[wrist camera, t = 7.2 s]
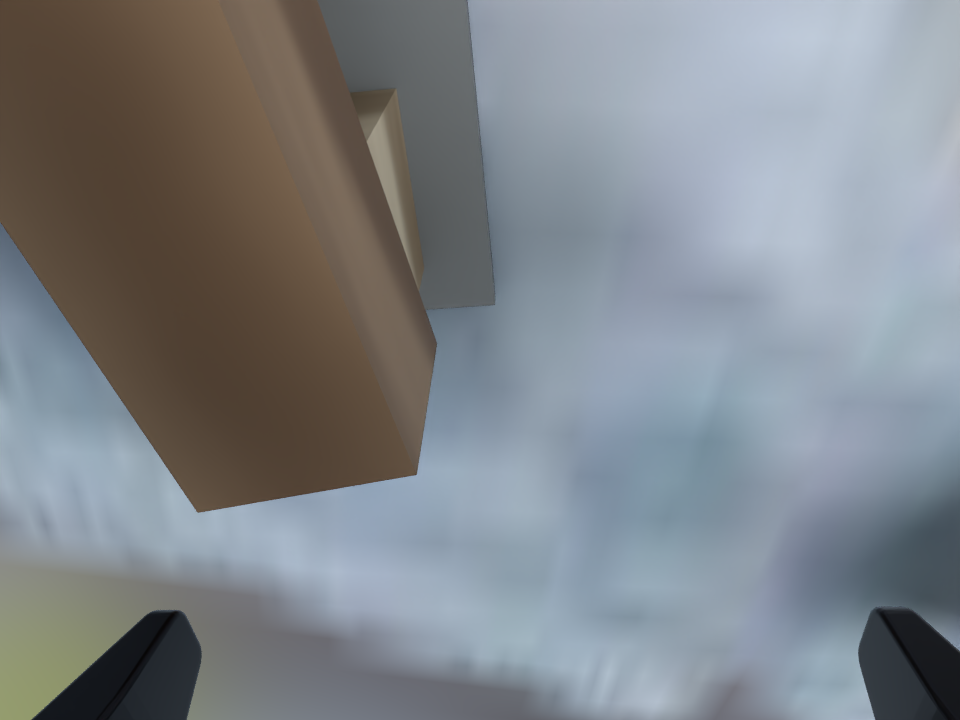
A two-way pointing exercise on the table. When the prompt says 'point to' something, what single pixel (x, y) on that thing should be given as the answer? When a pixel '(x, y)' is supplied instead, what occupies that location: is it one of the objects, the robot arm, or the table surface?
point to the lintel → (217, 237)
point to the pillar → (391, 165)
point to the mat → (428, 129)
